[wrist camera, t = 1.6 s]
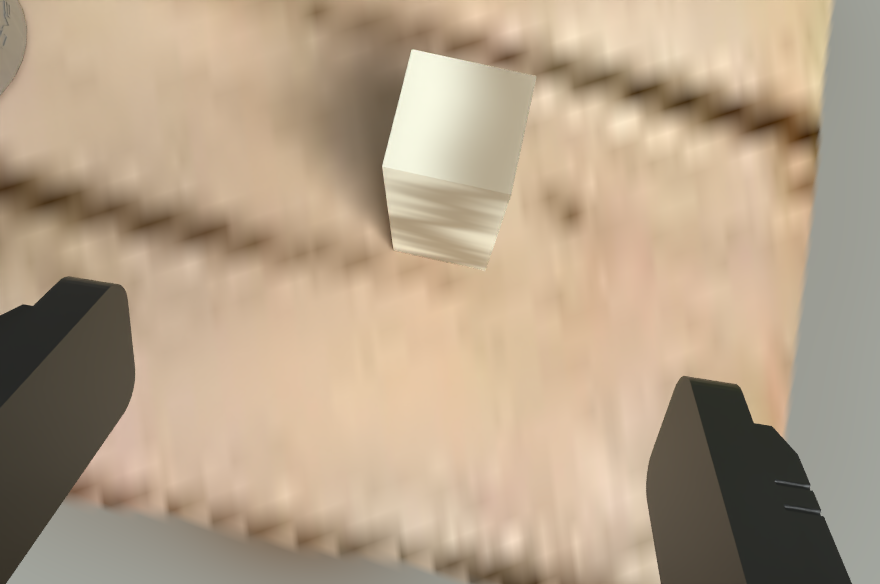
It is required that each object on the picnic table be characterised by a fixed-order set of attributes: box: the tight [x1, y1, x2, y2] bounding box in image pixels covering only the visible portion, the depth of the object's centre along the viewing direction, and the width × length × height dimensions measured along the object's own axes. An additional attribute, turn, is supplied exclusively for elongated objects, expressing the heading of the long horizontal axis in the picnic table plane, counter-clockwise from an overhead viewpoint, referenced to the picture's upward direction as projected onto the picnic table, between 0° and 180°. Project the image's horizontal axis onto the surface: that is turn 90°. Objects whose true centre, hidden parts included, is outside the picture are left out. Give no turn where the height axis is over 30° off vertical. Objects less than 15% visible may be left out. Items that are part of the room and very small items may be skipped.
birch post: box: [382, 49, 536, 271], centre depth 32 cm, size 4×4×11 cm
